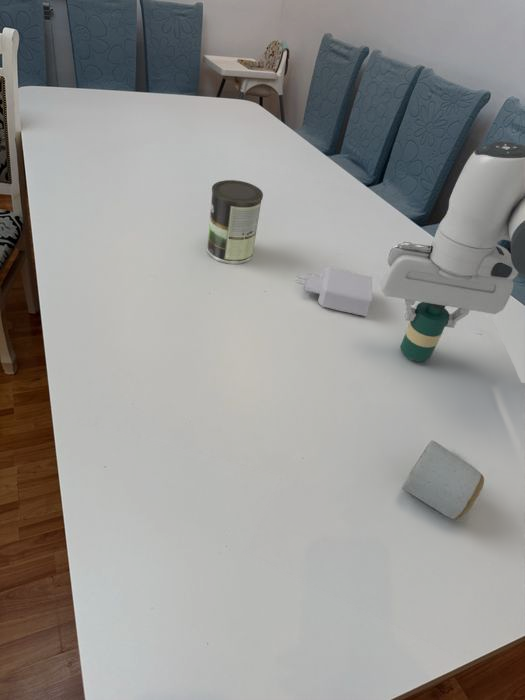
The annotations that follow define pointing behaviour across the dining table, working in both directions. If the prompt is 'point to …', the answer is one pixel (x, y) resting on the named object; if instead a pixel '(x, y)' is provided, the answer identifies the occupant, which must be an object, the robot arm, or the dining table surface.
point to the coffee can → (233, 221)
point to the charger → (341, 290)
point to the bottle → (424, 331)
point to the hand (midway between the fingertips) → (428, 322)
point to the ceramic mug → (444, 481)
